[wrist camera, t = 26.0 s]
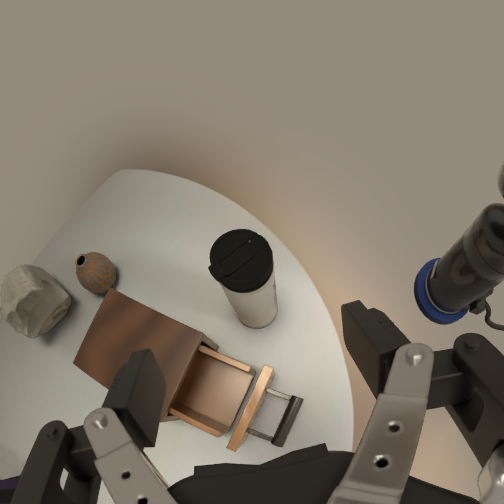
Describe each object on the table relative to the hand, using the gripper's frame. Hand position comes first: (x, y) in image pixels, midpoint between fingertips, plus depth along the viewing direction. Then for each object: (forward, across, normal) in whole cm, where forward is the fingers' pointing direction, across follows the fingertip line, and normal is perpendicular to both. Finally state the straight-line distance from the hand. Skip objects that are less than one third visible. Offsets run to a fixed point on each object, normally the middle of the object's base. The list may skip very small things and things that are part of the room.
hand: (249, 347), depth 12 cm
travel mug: (+32, 0, -16) cm, 36 cm away
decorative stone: (+38, -41, -10) cm, 57 cm away
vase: (+40, -26, -8) cm, 49 cm away
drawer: (+23, -7, -24) cm, 34 cm away
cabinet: (+28, -17, -19) cm, 38 cm away
